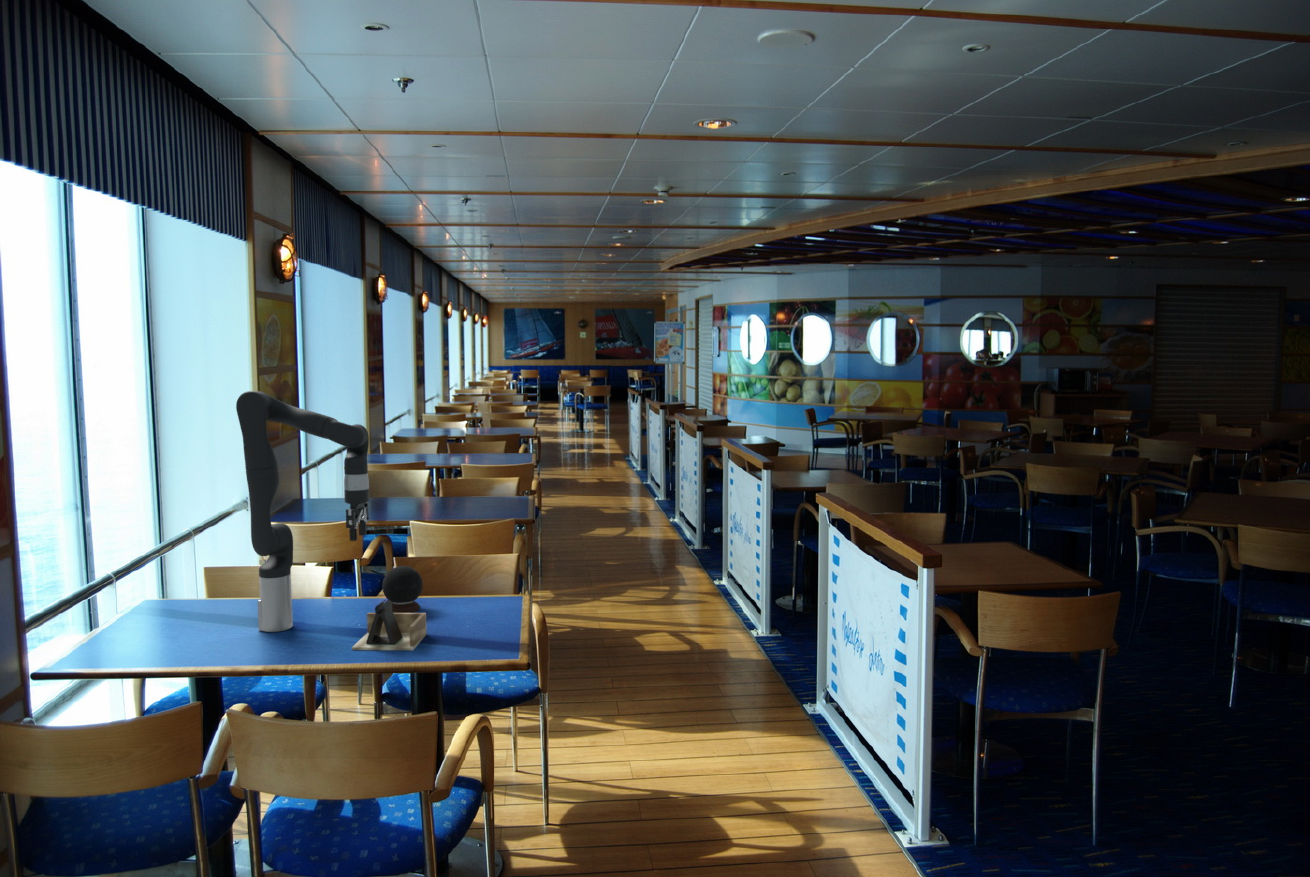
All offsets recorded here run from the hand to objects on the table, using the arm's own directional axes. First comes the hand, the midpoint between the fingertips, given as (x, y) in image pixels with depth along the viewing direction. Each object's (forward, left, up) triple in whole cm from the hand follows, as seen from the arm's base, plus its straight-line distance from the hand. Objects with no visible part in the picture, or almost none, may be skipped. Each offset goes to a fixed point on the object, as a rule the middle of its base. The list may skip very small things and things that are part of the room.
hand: (358, 537), depth 288 cm
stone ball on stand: (+9, +16, -28) cm, 34 cm away
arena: (+15, -18, -28) cm, 37 cm away
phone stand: (+14, -20, -28) cm, 37 cm away
